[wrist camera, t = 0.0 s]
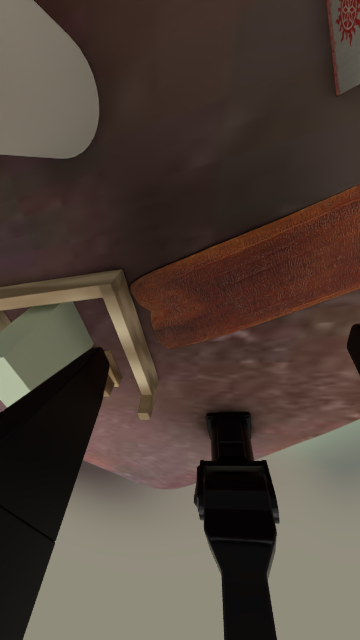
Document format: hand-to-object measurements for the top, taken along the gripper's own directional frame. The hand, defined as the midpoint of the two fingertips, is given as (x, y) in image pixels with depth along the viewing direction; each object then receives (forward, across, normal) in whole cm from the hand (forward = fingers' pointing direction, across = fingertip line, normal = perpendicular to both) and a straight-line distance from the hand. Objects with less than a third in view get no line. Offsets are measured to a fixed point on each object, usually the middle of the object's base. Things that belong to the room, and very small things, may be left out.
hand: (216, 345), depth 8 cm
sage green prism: (+15, +17, +7) cm, 24 cm away
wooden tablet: (+16, -5, +4) cm, 17 cm away
